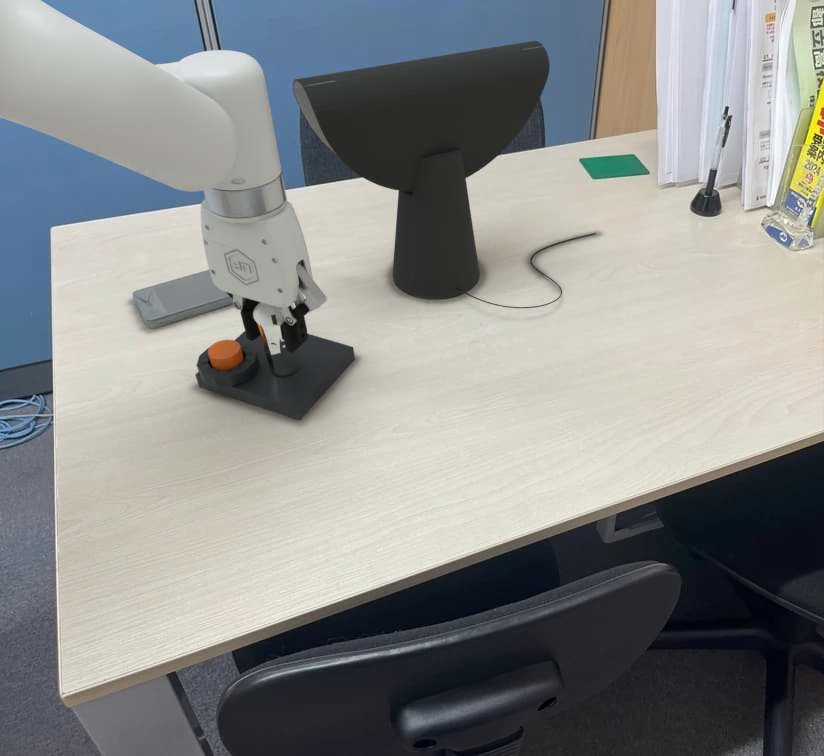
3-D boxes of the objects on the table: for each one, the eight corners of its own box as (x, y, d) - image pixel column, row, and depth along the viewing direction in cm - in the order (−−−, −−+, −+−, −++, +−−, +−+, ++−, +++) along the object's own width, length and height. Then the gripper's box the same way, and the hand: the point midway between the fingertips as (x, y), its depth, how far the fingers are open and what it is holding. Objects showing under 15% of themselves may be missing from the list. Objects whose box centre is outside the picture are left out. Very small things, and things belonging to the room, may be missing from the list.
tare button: (204, 365, 82) (200, 353, 81) (225, 347, 85) (221, 336, 83) (230, 374, 81) (226, 362, 80) (250, 355, 84) (247, 344, 82)
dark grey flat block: (192, 390, 83) (185, 367, 81) (259, 330, 92) (254, 308, 90) (295, 424, 80) (290, 402, 77) (355, 358, 89) (352, 336, 86)
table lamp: (476, 194, 123) (477, 4, 103) (622, 242, 112) (655, 40, 93) (312, 303, 97) (272, 77, 78) (482, 379, 86) (486, 140, 67)
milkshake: (265, 387, 81) (250, 317, 75) (264, 357, 85) (249, 288, 79) (306, 382, 82) (294, 312, 76) (303, 353, 86) (292, 284, 80)
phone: (269, 293, 99) (267, 285, 98) (149, 330, 92) (146, 322, 91) (248, 266, 104) (246, 258, 103) (133, 299, 97) (130, 291, 96)
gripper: (147, 189, 68) (195, 339, 80) (296, 227, 64) (323, 379, 76) (200, 159, 74) (237, 304, 86) (341, 192, 69) (360, 340, 81)
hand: (277, 338), depth 81 cm, fingers closed on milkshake, 4 cm apart
